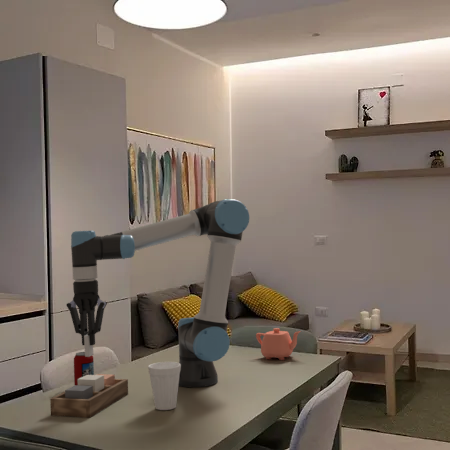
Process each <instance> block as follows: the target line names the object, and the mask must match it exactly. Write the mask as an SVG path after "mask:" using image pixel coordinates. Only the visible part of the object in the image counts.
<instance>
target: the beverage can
mask: <svg viewBox="0 0 450 450" xmlns="http://www.w3.org/2000/svg"><path fill="white" fill-rule="evenodd" d="M94 364H95V363H94V355H92V356H90V357H85V351H79V352H77V353H75V354H74V358H73V378H74V380H73V381H74V383H73V384H74V386H75V385H78V379H79V378H81V377H83V376H85V375H95V365H94Z"/></svg>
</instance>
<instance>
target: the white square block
mask: <svg viewBox="0 0 450 450" xmlns="http://www.w3.org/2000/svg"><path fill="white" fill-rule="evenodd" d="M78 385H82V386H93V392H98V391H100V390H102V389H103V388H104V375H97V374H94V375H85V376H83V377H81V378H79V379H78Z"/></svg>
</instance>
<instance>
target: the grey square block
mask: <svg viewBox="0 0 450 450" xmlns="http://www.w3.org/2000/svg"><path fill="white" fill-rule="evenodd" d="M64 392H65V398H71V399H90V398H91V397H93V386H82V385H75V384H74V385H73V386H70V387H69V388H67V389H64Z"/></svg>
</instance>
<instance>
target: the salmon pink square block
mask: <svg viewBox="0 0 450 450" xmlns="http://www.w3.org/2000/svg"><path fill="white" fill-rule="evenodd" d="M96 375H104V385H106V386H113V385H115V379H116V375H115V374H111V373H109V374H106V373H104V374H103V373H102V374H101V373H97V374H96Z"/></svg>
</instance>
